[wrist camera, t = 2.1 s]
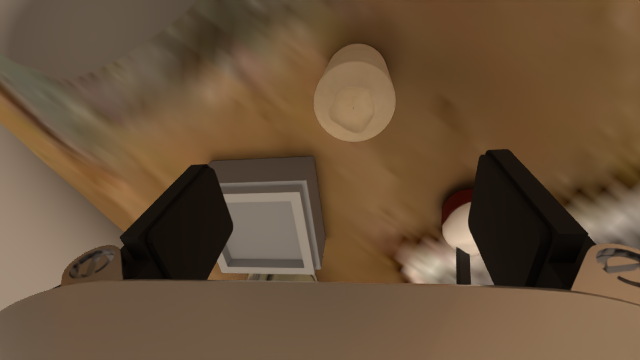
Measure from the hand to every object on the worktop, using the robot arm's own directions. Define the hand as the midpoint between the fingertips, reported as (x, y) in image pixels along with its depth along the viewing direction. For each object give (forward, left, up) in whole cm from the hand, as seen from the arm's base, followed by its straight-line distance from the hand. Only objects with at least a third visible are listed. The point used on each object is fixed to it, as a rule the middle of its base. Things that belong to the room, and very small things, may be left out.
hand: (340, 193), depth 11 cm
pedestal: (+11, +14, -19) cm, 26 cm away
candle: (0, 0, -20) cm, 20 cm away
